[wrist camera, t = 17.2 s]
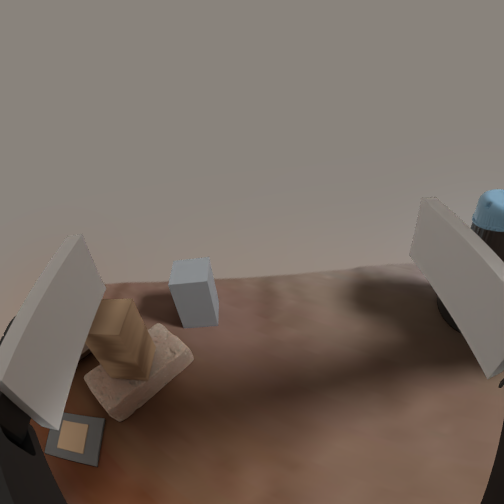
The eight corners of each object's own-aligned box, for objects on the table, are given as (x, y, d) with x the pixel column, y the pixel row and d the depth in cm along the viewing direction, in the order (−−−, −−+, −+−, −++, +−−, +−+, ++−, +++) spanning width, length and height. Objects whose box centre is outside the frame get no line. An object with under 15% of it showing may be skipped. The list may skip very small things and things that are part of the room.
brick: (165, 335, 49) (157, 317, 46) (197, 360, 44) (190, 342, 41) (94, 392, 39) (80, 377, 36) (120, 426, 34) (105, 413, 32)
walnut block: (156, 347, 41) (132, 298, 35) (148, 380, 36) (119, 334, 30) (121, 346, 41) (94, 299, 36) (111, 377, 36) (78, 333, 31)
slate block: (218, 301, 54) (209, 257, 48) (218, 325, 49) (207, 281, 44) (186, 303, 54) (173, 260, 48) (183, 328, 49) (168, 284, 44)
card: (105, 419, 34) (103, 417, 34) (97, 466, 28) (95, 465, 28) (55, 411, 34) (53, 410, 34) (45, 453, 28) (43, 452, 28)
